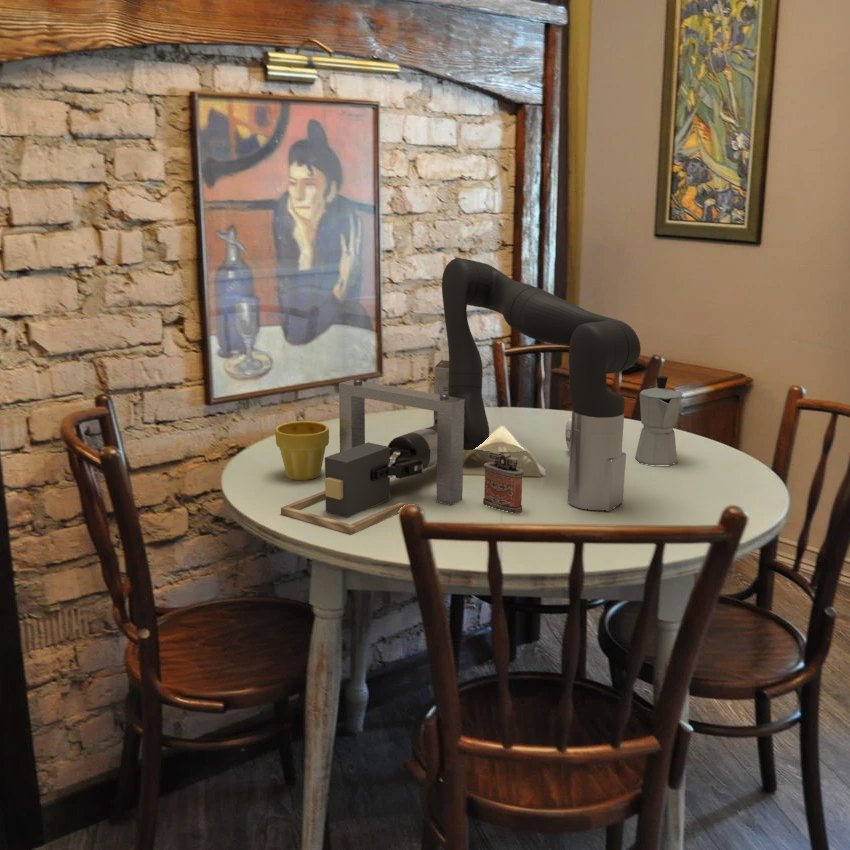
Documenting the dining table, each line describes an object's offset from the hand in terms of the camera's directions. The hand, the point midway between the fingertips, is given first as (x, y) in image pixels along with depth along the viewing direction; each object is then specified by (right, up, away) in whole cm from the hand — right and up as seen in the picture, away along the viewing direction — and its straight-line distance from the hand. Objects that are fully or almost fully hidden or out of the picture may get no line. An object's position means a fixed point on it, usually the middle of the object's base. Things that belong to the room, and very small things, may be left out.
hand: (359, 472), depth 175 cm
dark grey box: (0, -6, +1) cm, 6 cm away
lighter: (+26, -6, +1) cm, 26 cm away
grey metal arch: (+7, -3, +11) cm, 13 cm away
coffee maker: (+60, +1, +31) cm, 68 cm away
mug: (+46, +2, +32) cm, 56 cm away
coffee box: (+17, +7, +50) cm, 53 cm away
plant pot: (-12, -2, +18) cm, 22 cm away
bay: (-2, -7, -2) cm, 7 cm away
